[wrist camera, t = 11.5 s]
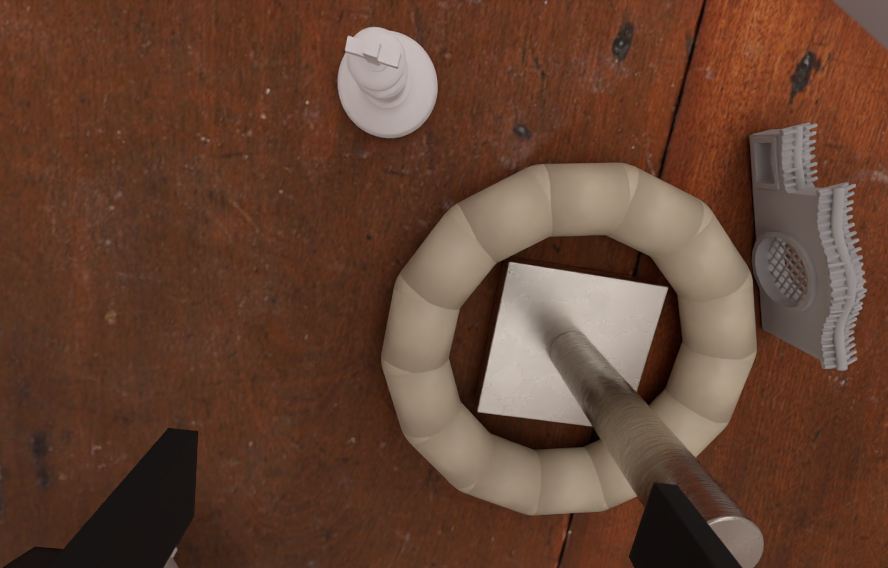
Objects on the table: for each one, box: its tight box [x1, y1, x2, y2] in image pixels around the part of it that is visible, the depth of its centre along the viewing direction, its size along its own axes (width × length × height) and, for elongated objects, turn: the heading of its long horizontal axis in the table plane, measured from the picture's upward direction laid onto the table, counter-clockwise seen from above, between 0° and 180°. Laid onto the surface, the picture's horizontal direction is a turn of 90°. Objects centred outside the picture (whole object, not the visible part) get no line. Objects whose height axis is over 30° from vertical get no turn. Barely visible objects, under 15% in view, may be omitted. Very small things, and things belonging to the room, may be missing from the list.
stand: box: [474, 257, 764, 568], centre depth 21 cm, size 9×9×16 cm
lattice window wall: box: [749, 123, 867, 370], centre depth 25 cm, size 12×2×6 cm, turn 14°
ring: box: [381, 163, 757, 515], centre depth 27 cm, size 20×21×4 cm
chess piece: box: [338, 27, 438, 138], centre depth 19 cm, size 5×5×10 cm
